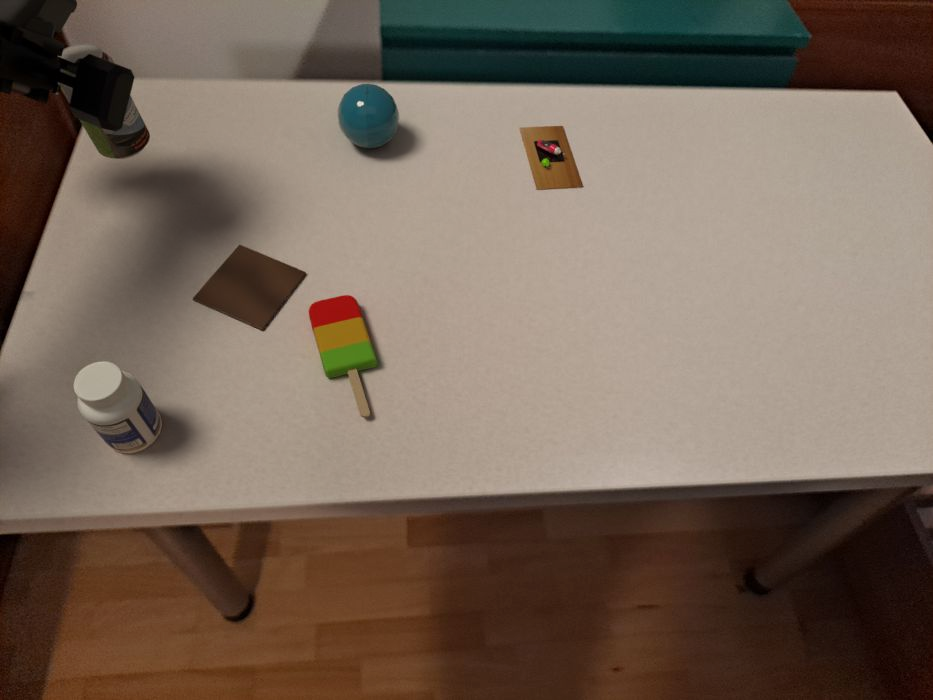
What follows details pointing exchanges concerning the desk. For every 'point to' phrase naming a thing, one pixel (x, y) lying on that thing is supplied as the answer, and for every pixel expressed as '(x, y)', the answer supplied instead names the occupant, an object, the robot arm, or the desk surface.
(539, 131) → the board
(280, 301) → the coaster
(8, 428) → the desk surface
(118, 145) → the beverage can
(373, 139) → the ball
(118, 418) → the pill bottle
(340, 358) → the popsicle
